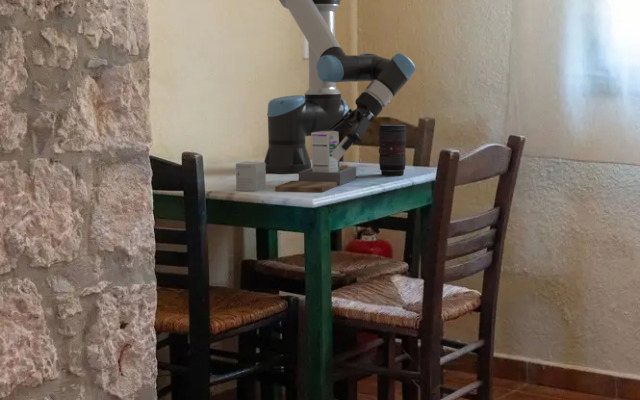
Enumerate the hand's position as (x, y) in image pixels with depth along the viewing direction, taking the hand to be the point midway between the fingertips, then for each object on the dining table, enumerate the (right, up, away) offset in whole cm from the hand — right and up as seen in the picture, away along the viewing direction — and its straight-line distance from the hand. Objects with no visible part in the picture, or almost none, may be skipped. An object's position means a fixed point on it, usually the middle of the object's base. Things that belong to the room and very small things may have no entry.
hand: (325, 155), depth 263 cm
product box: (-20, -10, -11) cm, 25 cm away
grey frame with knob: (+1, -7, +4) cm, 8 cm away
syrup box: (0, -8, +2) cm, 8 cm away
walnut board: (-5, -9, -11) cm, 15 cm away
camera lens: (+20, -5, +18) cm, 28 cm away
